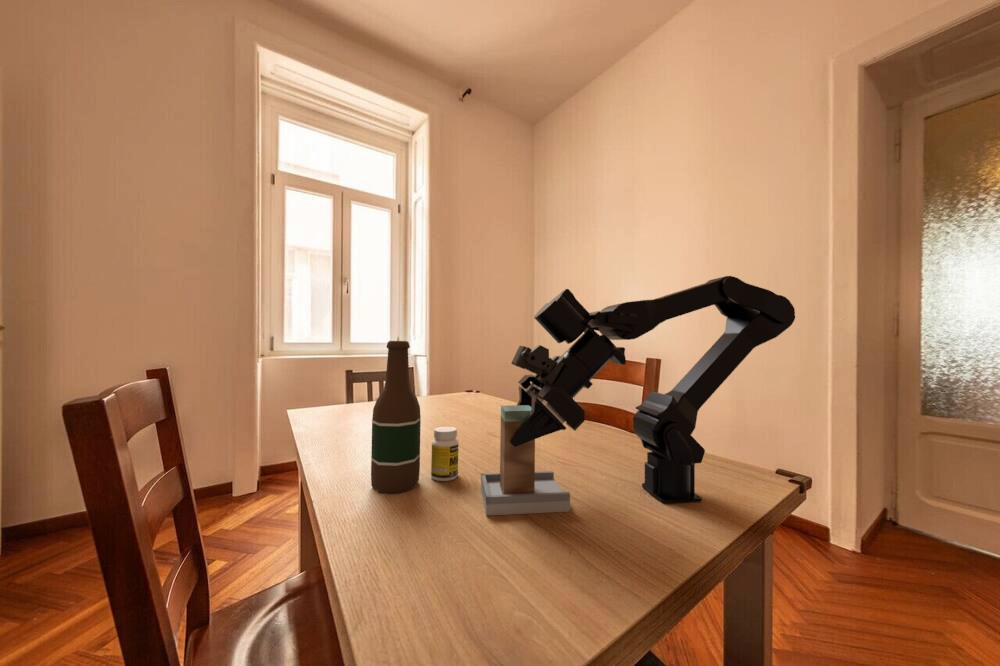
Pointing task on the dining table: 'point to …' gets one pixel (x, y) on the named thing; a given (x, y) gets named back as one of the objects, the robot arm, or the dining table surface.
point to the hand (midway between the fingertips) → (508, 437)
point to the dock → (524, 496)
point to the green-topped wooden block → (516, 454)
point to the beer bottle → (396, 427)
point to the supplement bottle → (444, 454)
